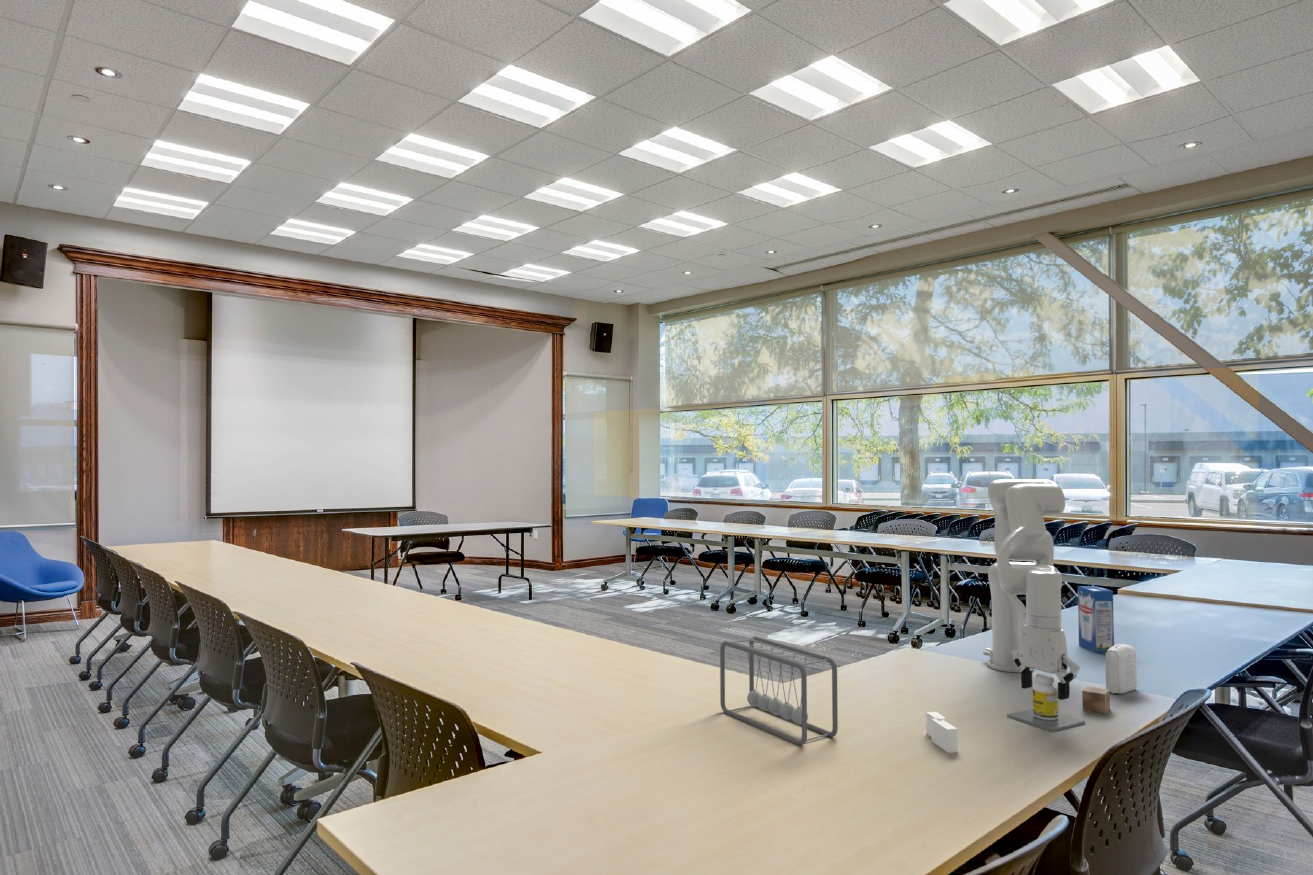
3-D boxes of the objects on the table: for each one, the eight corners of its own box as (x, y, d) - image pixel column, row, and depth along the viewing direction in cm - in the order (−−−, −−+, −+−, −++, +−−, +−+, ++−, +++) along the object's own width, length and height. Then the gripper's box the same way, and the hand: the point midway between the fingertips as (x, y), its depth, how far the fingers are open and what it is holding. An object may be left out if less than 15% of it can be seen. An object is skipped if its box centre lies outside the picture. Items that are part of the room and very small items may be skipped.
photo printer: (1122, 685, 214) (1121, 640, 214) (1139, 689, 210) (1138, 643, 211) (1103, 691, 208) (1102, 645, 209) (1120, 695, 205) (1119, 648, 205)
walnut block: (1082, 710, 193) (1082, 690, 193) (1087, 705, 196) (1087, 686, 197) (1105, 714, 189) (1104, 694, 190) (1110, 710, 193) (1109, 689, 193)
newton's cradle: (838, 739, 173) (838, 659, 174) (804, 748, 167) (803, 665, 168) (752, 704, 198) (751, 634, 199) (719, 711, 193) (719, 639, 193)
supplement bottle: (1028, 713, 188) (1027, 673, 188) (1049, 713, 188) (1048, 672, 189) (1041, 721, 183) (1040, 679, 183) (1063, 720, 183) (1062, 678, 183)
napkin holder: (964, 760, 162) (964, 732, 162) (909, 750, 168) (908, 723, 168) (975, 738, 175) (975, 712, 175) (923, 729, 180) (923, 704, 181)
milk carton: (1114, 653, 251) (1113, 590, 251) (1095, 652, 251) (1093, 590, 252) (1097, 645, 261) (1096, 586, 261) (1078, 645, 261) (1077, 586, 262)
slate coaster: (1007, 716, 188) (1007, 714, 188) (1039, 709, 193) (1039, 706, 193) (1052, 731, 177) (1052, 729, 177) (1085, 723, 183) (1085, 720, 183)
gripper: (1002, 616, 192) (1003, 685, 192) (1067, 630, 177) (1068, 706, 177) (1022, 613, 196) (1023, 681, 195) (1087, 627, 180) (1089, 700, 180)
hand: (1044, 693), depth 186 cm, fingers open, 9 cm apart
